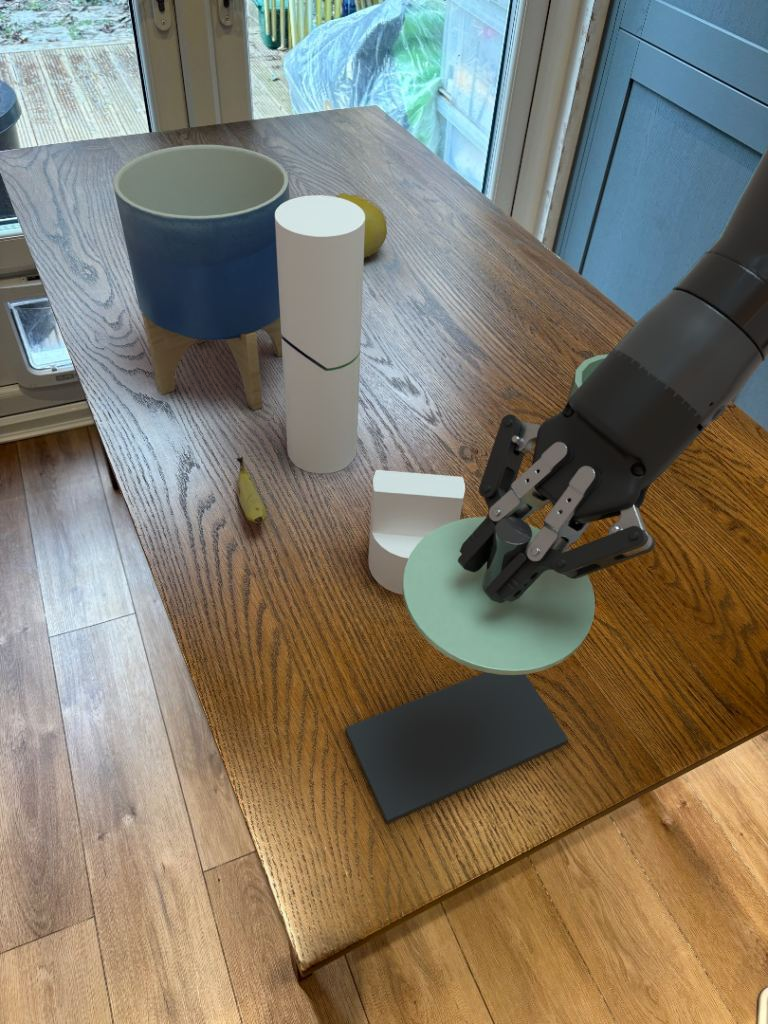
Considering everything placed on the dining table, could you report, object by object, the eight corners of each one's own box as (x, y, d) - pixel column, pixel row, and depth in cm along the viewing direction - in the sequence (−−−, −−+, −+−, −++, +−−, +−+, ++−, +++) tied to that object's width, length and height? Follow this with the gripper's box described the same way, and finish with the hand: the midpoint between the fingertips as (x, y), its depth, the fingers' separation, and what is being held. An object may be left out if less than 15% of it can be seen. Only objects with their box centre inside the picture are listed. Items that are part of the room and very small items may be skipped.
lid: (593, 546, 58) (619, 479, 52) (588, 700, 49) (619, 638, 43) (420, 512, 59) (429, 444, 54) (383, 655, 50) (389, 590, 45)
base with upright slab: (450, 535, 84) (464, 456, 76) (450, 599, 78) (465, 521, 70) (371, 528, 85) (376, 449, 76) (364, 592, 78) (369, 513, 70)
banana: (271, 539, 83) (269, 515, 80) (250, 544, 82) (247, 519, 79) (252, 478, 89) (250, 453, 86) (232, 482, 88) (229, 457, 86)
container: (314, 483, 89) (309, 245, 67) (273, 444, 93) (257, 209, 71) (370, 454, 93) (383, 221, 71) (329, 418, 97) (329, 188, 75)
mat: (514, 664, 73) (516, 659, 73) (566, 743, 68) (568, 739, 67) (345, 731, 68) (345, 727, 67) (386, 824, 62) (387, 820, 62)
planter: (189, 433, 94) (152, 233, 75) (133, 355, 104) (88, 161, 85) (322, 386, 102) (319, 194, 83) (257, 318, 112) (242, 133, 93)
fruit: (380, 273, 123) (383, 214, 116) (316, 265, 124) (315, 205, 117) (390, 244, 130) (393, 186, 123) (329, 236, 131) (329, 179, 124)
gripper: (565, 303, 48) (393, 505, 52) (741, 428, 40) (522, 654, 44) (603, 350, 54) (446, 528, 58) (762, 467, 46) (568, 662, 50)
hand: (480, 581), depth 51 cm, fingers closed on lid, 2 cm apart
